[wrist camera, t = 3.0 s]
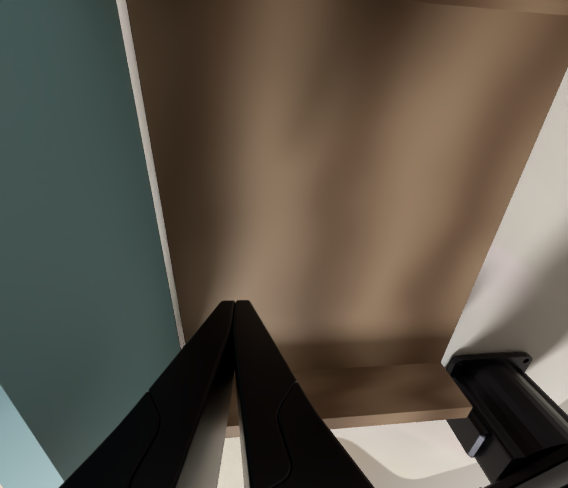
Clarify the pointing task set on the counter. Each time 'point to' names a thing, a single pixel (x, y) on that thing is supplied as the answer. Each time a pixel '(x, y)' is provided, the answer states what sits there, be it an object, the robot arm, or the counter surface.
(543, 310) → the counter surface
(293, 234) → the flatbed
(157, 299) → the teal flat rectangular block
